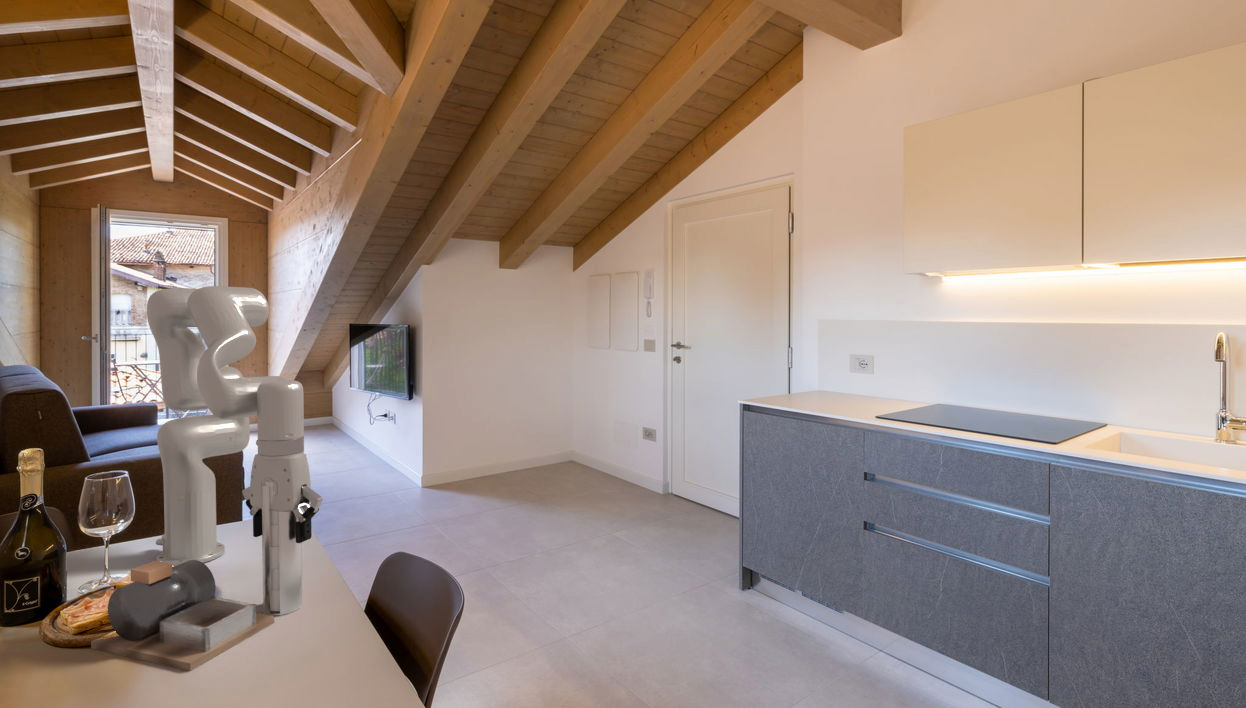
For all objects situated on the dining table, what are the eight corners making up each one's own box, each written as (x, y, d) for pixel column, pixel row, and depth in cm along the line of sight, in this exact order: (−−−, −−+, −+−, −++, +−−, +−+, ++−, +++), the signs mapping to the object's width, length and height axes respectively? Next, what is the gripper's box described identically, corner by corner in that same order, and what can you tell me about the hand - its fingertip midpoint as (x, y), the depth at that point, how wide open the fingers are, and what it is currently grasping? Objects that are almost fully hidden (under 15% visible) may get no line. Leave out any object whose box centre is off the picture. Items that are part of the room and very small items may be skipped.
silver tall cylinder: (310, 604, 119) (309, 475, 117) (278, 619, 113) (277, 483, 111) (286, 597, 122) (285, 470, 120) (255, 611, 116) (253, 478, 114)
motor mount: (91, 648, 102) (89, 576, 101) (184, 605, 117) (182, 542, 117) (190, 670, 96) (188, 594, 96) (274, 622, 112) (273, 556, 111)
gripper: (226, 447, 114) (228, 539, 115) (304, 454, 109) (305, 550, 110) (260, 439, 121) (261, 526, 122) (334, 446, 117) (335, 536, 118)
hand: (282, 537), depth 116 cm, fingers open, 9 cm apart
